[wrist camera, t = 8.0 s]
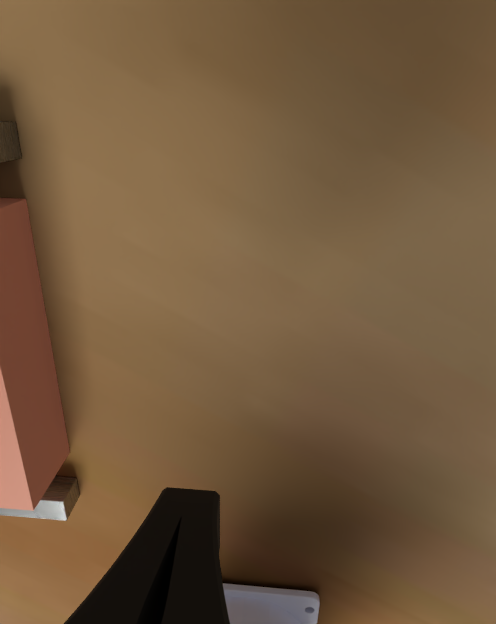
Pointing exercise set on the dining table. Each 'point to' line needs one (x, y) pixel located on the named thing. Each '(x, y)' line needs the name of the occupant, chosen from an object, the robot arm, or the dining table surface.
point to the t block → (25, 370)
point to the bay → (63, 490)
